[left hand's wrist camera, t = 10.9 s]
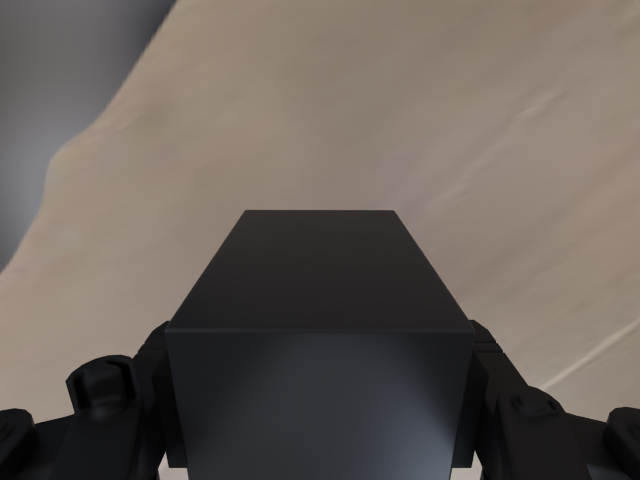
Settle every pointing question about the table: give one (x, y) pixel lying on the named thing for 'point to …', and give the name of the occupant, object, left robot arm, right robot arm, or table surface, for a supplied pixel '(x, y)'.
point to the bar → (319, 353)
